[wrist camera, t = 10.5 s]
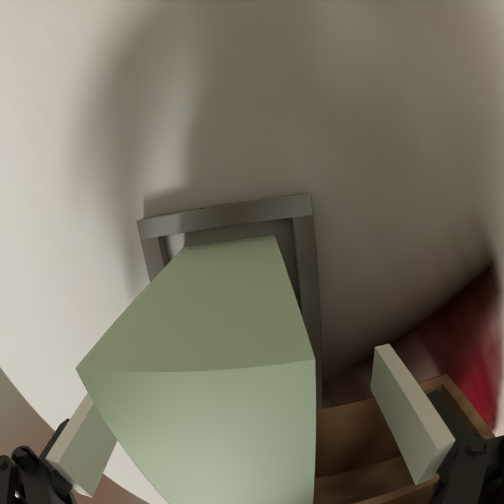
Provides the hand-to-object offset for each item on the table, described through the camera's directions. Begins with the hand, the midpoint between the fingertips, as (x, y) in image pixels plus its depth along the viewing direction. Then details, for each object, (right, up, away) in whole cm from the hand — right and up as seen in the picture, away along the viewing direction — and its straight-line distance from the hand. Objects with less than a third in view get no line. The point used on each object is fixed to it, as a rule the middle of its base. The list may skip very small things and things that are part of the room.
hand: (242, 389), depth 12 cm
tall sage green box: (0, +1, +5) cm, 5 cm away
